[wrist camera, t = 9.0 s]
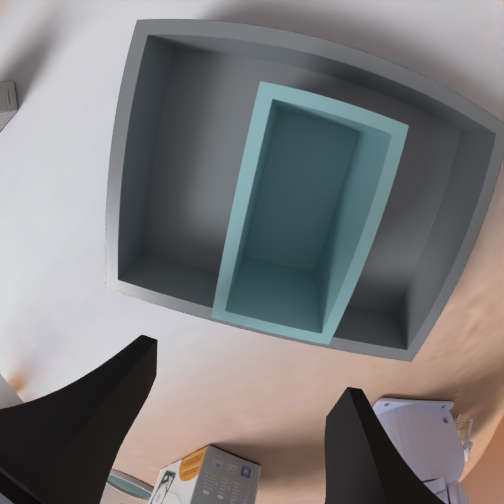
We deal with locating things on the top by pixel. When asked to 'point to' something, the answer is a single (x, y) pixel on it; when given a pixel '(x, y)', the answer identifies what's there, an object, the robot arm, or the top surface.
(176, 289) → the grey crate
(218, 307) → the teal mini crate
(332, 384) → the top surface
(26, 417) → the robot arm
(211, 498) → the hard drive box
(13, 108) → the padlock
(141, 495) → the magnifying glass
